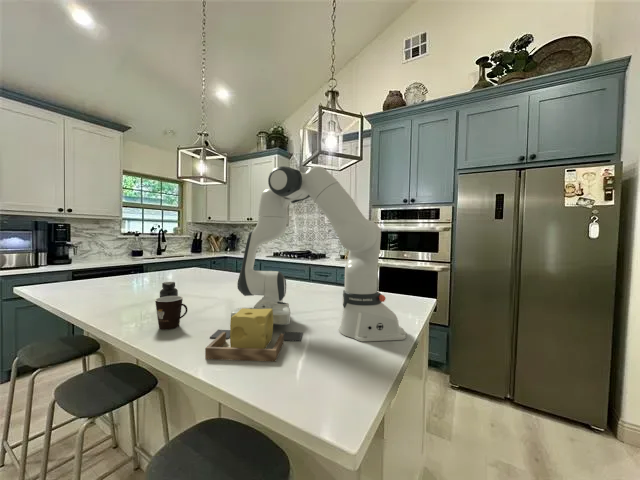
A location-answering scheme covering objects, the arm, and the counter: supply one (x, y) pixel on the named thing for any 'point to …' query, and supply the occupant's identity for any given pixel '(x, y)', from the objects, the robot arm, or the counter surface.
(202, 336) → the counter surface
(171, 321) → the coffee mug
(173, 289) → the supplement bottle
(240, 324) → the cheese
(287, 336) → the pads
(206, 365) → the counter surface
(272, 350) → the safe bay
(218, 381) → the counter surface
